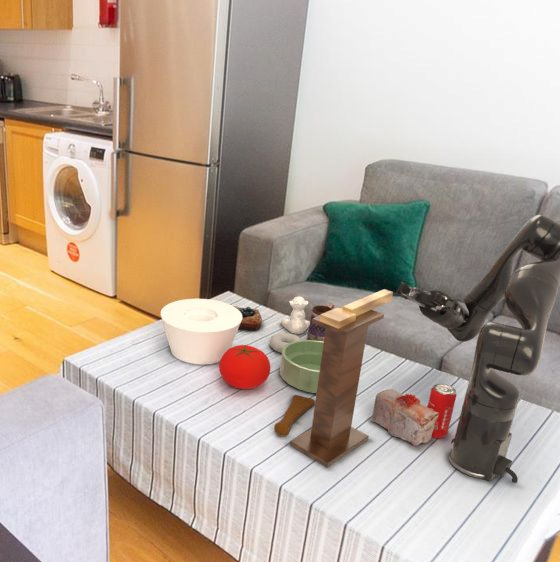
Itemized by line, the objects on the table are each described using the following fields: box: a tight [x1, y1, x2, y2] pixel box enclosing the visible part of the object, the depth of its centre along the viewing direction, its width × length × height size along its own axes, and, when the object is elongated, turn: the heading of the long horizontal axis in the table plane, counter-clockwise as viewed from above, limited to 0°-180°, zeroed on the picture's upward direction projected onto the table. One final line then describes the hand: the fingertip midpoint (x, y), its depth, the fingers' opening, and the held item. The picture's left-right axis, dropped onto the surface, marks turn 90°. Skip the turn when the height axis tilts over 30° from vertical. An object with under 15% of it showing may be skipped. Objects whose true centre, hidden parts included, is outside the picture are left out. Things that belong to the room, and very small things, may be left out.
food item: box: [371, 388, 439, 447], centre depth 137 cm, size 14×8×10 cm, turn 32°
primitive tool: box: [273, 394, 316, 437], centre depth 144 cm, size 19×6×4 cm, turn 150°
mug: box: [306, 302, 336, 342], centre depth 181 cm, size 10×7×12 cm
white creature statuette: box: [280, 296, 310, 335], centre depth 189 cm, size 10×9×12 cm
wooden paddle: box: [320, 288, 394, 329], centre depth 125 cm, size 22×4×2 cm, turn 128°
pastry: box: [232, 305, 263, 332], centre depth 194 cm, size 11×12×6 cm
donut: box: [269, 332, 302, 354], centre depth 178 cm, size 10×4×10 cm
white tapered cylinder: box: [160, 298, 242, 365], centre depth 175 cm, size 24×24×12 cm
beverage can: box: [427, 383, 457, 440], centre depth 137 cm, size 5×5×12 cm
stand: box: [289, 302, 385, 468], centre depth 130 cm, size 10×16×32 cm, turn 128°
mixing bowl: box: [279, 339, 324, 394], centre depth 161 cm, size 19×19×7 cm
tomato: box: [218, 344, 271, 390], centre depth 158 cm, size 14×13×10 cm
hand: (418, 291), depth 141 cm, fingers open, 8 cm apart
